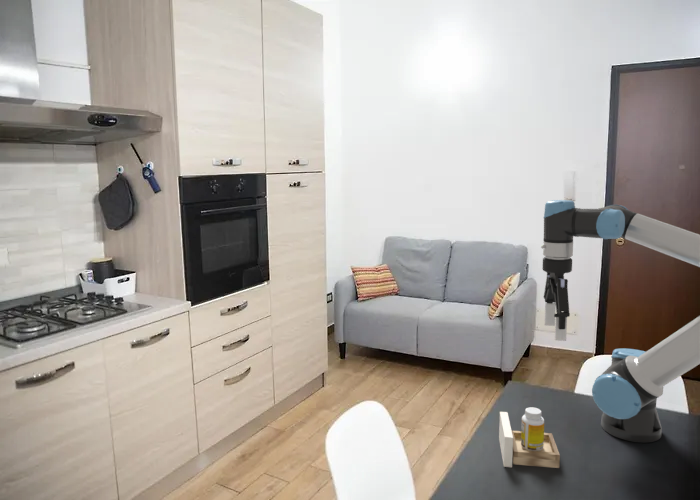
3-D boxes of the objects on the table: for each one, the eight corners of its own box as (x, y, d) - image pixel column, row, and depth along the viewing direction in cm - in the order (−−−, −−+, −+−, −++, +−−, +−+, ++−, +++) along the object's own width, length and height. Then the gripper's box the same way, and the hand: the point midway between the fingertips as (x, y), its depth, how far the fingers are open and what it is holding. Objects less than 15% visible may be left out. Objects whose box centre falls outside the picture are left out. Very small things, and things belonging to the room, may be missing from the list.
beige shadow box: (551, 445, 144) (551, 433, 144) (559, 468, 133) (559, 455, 133) (508, 442, 146) (509, 430, 146) (513, 464, 135) (513, 451, 135)
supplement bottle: (547, 448, 139) (549, 411, 137) (534, 455, 136) (535, 417, 134) (530, 439, 143) (531, 403, 142) (516, 446, 140) (517, 409, 139)
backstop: (506, 439, 148) (507, 412, 146) (512, 467, 134) (513, 437, 133) (499, 438, 148) (499, 411, 147) (503, 466, 134) (504, 436, 133)
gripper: (534, 250, 158) (532, 319, 162) (552, 265, 134) (550, 346, 137) (561, 250, 157) (558, 320, 161) (584, 265, 133) (581, 347, 136)
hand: (554, 332), depth 149 cm, fingers open, 13 cm apart
